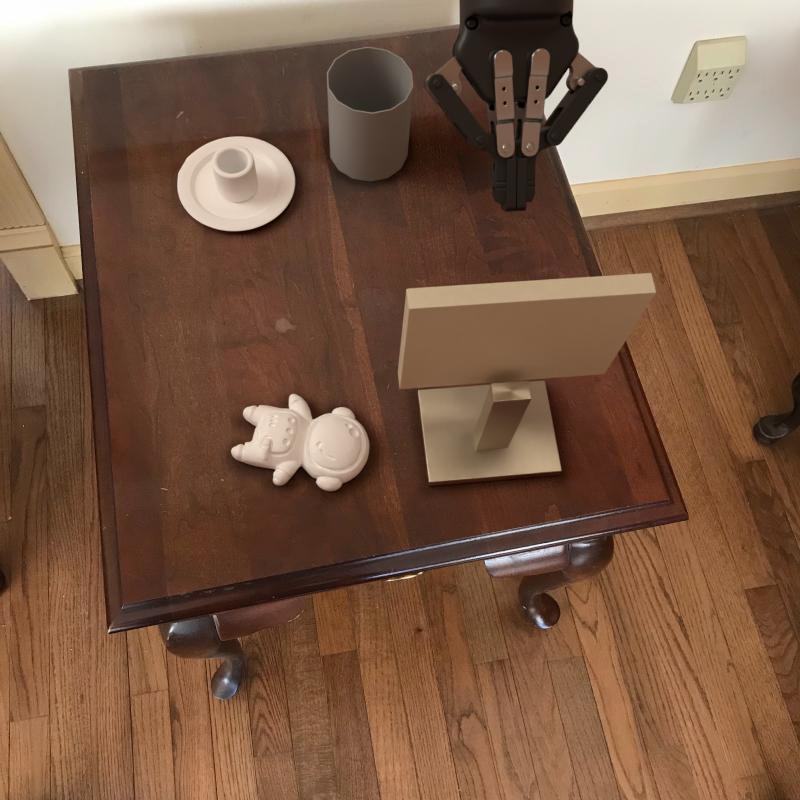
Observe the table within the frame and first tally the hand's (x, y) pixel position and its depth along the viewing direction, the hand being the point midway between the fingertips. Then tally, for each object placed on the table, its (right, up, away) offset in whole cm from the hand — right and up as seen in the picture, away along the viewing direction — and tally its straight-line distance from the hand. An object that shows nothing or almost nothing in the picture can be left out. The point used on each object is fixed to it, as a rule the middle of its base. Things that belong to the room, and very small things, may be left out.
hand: (513, 209), depth 60 cm
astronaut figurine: (-17, -18, +15) cm, 29 cm away
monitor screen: (0, -12, +8) cm, 14 cm away
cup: (-12, +13, +29) cm, 34 cm away
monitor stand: (0, -17, +16) cm, 24 cm away
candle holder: (-25, +8, +26) cm, 37 cm away
